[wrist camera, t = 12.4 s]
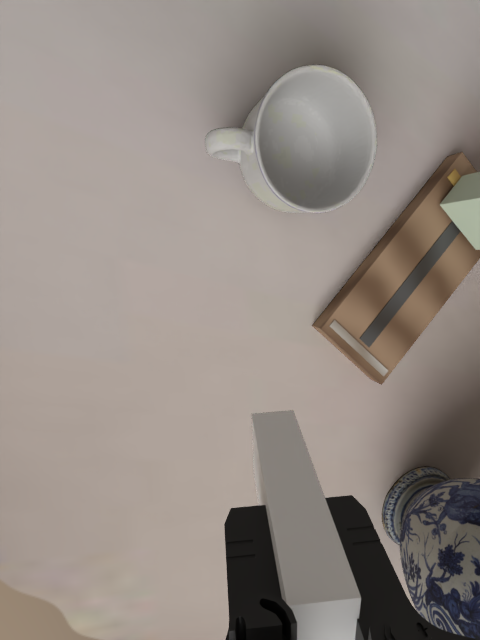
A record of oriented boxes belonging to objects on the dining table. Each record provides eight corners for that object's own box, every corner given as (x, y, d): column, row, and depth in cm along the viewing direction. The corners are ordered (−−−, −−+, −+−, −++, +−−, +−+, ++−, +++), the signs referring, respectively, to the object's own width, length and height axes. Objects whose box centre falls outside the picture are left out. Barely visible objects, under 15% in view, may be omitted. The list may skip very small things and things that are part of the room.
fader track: (370, 379, 45) (382, 384, 43) (312, 325, 42) (321, 329, 40) (494, 219, 46) (511, 217, 44) (447, 156, 43) (463, 151, 41)
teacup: (339, 120, 39) (391, 86, 31) (321, 229, 40) (366, 222, 33) (203, 79, 35) (225, 30, 27) (187, 202, 36) (203, 188, 29)
